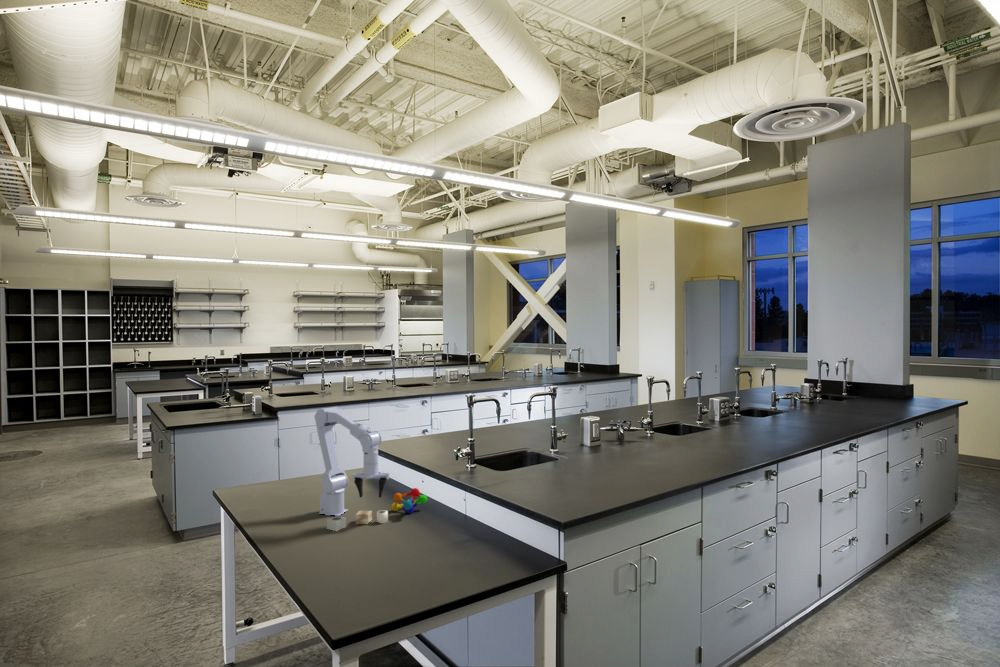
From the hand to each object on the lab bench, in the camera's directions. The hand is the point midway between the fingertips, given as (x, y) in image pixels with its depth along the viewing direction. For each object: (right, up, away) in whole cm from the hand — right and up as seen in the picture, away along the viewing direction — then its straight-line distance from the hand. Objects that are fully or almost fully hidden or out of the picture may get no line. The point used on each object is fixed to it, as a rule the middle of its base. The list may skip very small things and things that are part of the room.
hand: (370, 496), depth 221 cm
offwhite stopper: (+5, -10, -1) cm, 11 cm away
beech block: (-2, -10, -1) cm, 10 cm away
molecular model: (+14, -10, +12) cm, 20 cm away
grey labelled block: (-11, -10, -8) cm, 17 cm away
